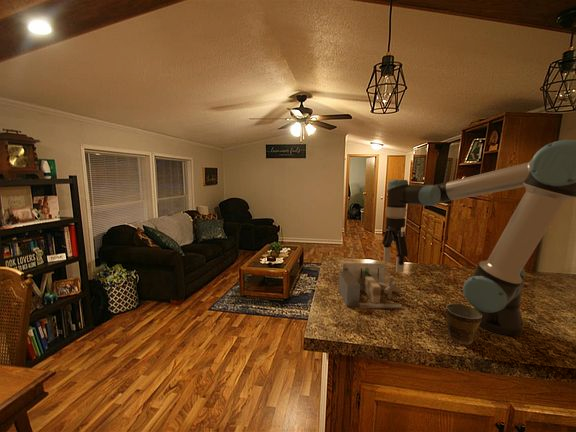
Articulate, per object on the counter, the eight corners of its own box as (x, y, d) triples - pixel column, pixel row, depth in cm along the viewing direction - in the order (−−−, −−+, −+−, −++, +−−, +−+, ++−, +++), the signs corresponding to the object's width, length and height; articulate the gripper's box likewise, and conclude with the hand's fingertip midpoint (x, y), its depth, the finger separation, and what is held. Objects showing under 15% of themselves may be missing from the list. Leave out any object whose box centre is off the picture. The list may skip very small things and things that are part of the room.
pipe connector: (396, 306, 112) (398, 283, 110) (373, 298, 118) (374, 277, 116) (404, 297, 119) (406, 276, 117) (382, 290, 126) (384, 270, 124)
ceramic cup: (484, 342, 88) (488, 313, 87) (467, 352, 84) (471, 321, 82) (444, 323, 100) (448, 297, 98) (428, 330, 95) (431, 303, 93)
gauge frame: (401, 308, 110) (404, 280, 108) (347, 307, 109) (348, 279, 108) (383, 287, 130) (385, 263, 128) (337, 287, 129) (338, 262, 127)
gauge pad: (379, 303, 113) (381, 287, 112) (372, 302, 113) (373, 287, 112) (368, 287, 128) (369, 273, 127) (361, 287, 128) (362, 273, 127)
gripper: (419, 221, 101) (415, 276, 104) (392, 213, 126) (390, 258, 129) (399, 221, 101) (396, 276, 104) (376, 213, 126) (374, 257, 129)
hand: (392, 266), depth 116 cm, fingers open, 13 cm apart
